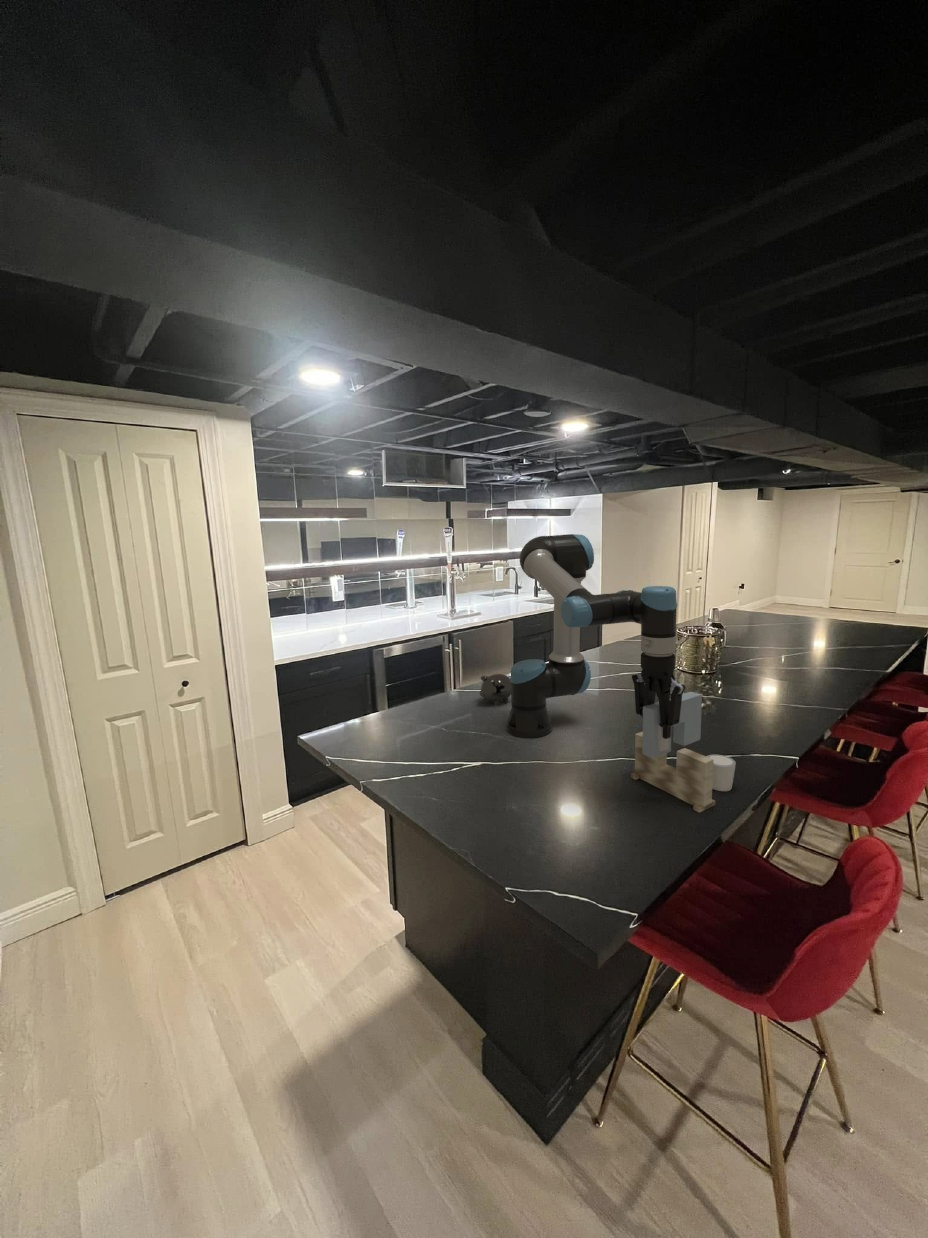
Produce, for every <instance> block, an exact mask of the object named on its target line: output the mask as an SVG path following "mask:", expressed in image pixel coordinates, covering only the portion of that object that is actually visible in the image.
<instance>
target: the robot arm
mask: <svg viewBox="0 0 928 1238" xmlns="http://www.w3.org/2000/svg"><path fill="white" fill-rule="evenodd" d="M594 562H595V552H594V548H593V544H592V543H591V541H590V539H589V538H588V537H587V536H586V535H583V534H574V533H573V534H572V533H570V534H556V535H541V536H535V537H534V538H532V539H530V540H528V542H527V543H526V544H525V545H524V546H523V548H522V549H521V551H520V554H519V565H520V567H521V569H522V571H523V573H524V574H525V575H526V576H527V577H528V578H530V579H532V580H536V581H537V582H538V583H539V584H540V585H541V586H542V587H543V588H544V590H545V591H546V592H547V593H549V595H550V596H551V597H552V598H553V651H552V652H551V653H550V654H549V655H548V662H546V661H544V660H543V659H538V658H529V659H524V660H520V661H518V662H516V663H514V664H513V665H512V666H511V668H510V676H511V677H510V682H511V695H510V698H511V699H510V700H511V701H510V703H511V707H510V710H509V714H508V718H507V721H506V727H507V728H506V729H507V732H508V733H509V734H511V735H512V736H515V737H519V738H527V739H533V738H535V739H536V738H541V737H542V738H543V737H545V736H546V735H549V734H551V732H552V731H553V724H552V720H551V717H550V714H549V712H548V709H547V699H549V698H558V697H566V696H575V695H578V694H582V693H584V692H585V691H587V690H588V688H589V687H590V683H591V680H592V679H591V678H592V674H591V669H590V665H589V662H588V661H587V660H586V659H585V656H584V654H582V653H581V652H580V645H581V642H580V641H581V640H580V639H581V634H580V633H581V629H582V628H586V627H593V626H604V625H612V624H613V625H615V624H623V623H635V624H639V625H640V630H641V631H640V635H641V636H640V637H641V638H640V651H642V652H641V654H640V668H641V672H640V673H639V672H638V673H636V674H632V675H631V679H632V683H633V686H634V687H633V688H634V703H635V713H636V714H637V715H640V716H641V718H642V719H643V707H644V706H647V705H650V704H653V703H656V697H657V699H658V702H659V708H660V716H661V724H659V725H658V751H660V752H662V751H664V750H667V749H668V738H670V737H671V738H672V727H674V726H673V725H676V724H678V723H679V720H680V711H681V702H682V694H684V692H685V690H686V685H685V684H680V683H678V682H677V681H676V677H675V675H674V672H675V670H676V655H675V653H676V651H677V647H676V646H677V635H676V632H677V613H678V612H677V610H678V603H677V590H676V589H675V588H674V587H672V586H667V585H665V586H664V585H651V586H645V587H643V588H642V589H641V592H639V591H634V590H631V589H629V590H627V589H626V590H618V591H616V592H613V593H612V592H611V593H601V594H593V593H592V592H590V591H589V590H588V589H587V588H585V586H583V585H582V582H583V581H584V580H585V579H586V578H587V571H589V570H591V569H592V568H593V565H594Z"/></svg>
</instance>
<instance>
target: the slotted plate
mask: <svg viewBox="0 0 928 1238" xmlns="http://www.w3.org/2000/svg"><path fill="white" fill-rule="evenodd" d="M702 698H703V695H702V694H701V693H699V692H698V693H697V692H694V691H689V692H685V693H683V694H682V702H681V711H680V720H679V723H678V724H676V725H673V726H672V727H673V743H675V744H678V745H680V746H682V747H686V746H688V745H691V744H693V743H695V742H698V741H700V740H701V732H702V731H701V730H702V729H701V728H702V727H701V726H702V704H703V700H702ZM659 724H661V716H660V708H659V701H657V702H656V701H655V703H653V704H650V705H647V706H644V707H643V718H642V731H643V749H642V754H644V755H646V756H648V757H650V758H656V757H658V756H661V755H663V754H666V753H667V754H668V753H670V752H672V736H671V737H670V738H668V749H667V750H664V751H662V752H660V751H658V725H659Z"/></svg>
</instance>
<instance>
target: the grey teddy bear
mask: <svg viewBox="0 0 928 1238" xmlns="http://www.w3.org/2000/svg"><path fill="white" fill-rule="evenodd" d="M510 677H511V675H508V676H507V674H503V673H494V674H490V675H482V676H480V680H481V681H482V684H481V685H480V686H481V687H480V691H479V696H480V697H481V698H484V700H486V703H488V702H490V703H493V705H494V706H495V705H498V706H499V704H500V702H503V703H504V704H508V703H509V697H511V682H510ZM507 702H508V703H507Z"/></svg>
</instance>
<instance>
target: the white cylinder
mask: <svg viewBox="0 0 928 1238" xmlns="http://www.w3.org/2000/svg"><path fill="white" fill-rule="evenodd" d="M706 757H709V758H711V759H714V760H713V783H712V790H715V791H719V792H729V791H731V790H732V789H733V788H732V787H733V783H734V777H735V770H736V763H737V762H736V761H735V760H734V759H733V758H732V757H730V756H727V755H723V754H715V753H714V754H709V755H706Z"/></svg>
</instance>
